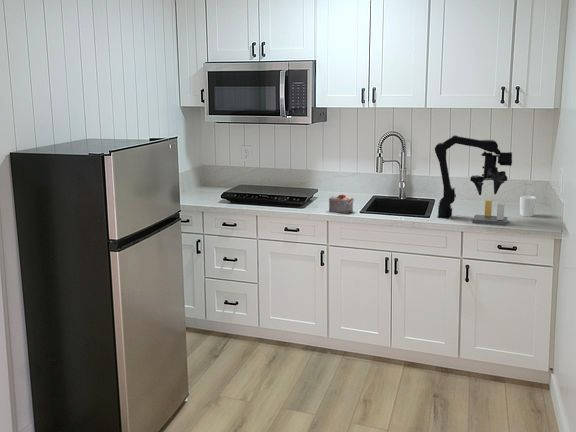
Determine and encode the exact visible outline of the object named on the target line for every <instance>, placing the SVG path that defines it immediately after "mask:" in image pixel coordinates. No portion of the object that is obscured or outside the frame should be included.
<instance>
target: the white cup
mask: <svg viewBox="0 0 576 432" xmlns="http://www.w3.org/2000/svg"><path fill="white" fill-rule="evenodd" d="M536 200H537V197H536V196H532V195H521V196H520V197H519V216H521V217H527V218H528V217H529V218H531V217H534V214H535V208H536Z"/></svg>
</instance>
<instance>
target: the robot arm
mask: <svg viewBox="0 0 576 432" xmlns="http://www.w3.org/2000/svg"><path fill="white" fill-rule="evenodd" d="M455 145H461V146H462V145H463V146H468V147H474V148H478V149H481V150H483V151H484V152H482V153H481V156H482V157H484V164H483V166H482V169H483V173H482V174H481V175H471V176H470V179H469V180H470V182H472V183H473V184H474V186H475V187H476V190H477V193H478V195H479V196H481V195H482V188H483V185H484V181H493V195H497V194H498V191H499V189H500V187H501V185H502V184H504V183H505V182H508V176H507V175H506V171H505V170H503V171H502V170H501V171H499V170H498V166H497V164H499V166H505V167H506V166H508V167H509V166H510V167H511V166H512V165H513V152H511V151H509V152H503V151H501V150H500V149H499V148H498V147H499V146H498V145H499V144H498V143H497V140H495V139H494V140H493V139H475V138H469V137H464V136H459V135H457V134H456V135H455V134H454V135H452V136H451V137H450V138H448V139H447V140H445V141H443V142H438V143H437V144H436V145H435V147H434V153H435V154H436V158H437V160H438V162H439V168H440V173H441V175H440V176H441V179H442V184H443V185H442V187H443V196H442V198H440V200H439V203H438V206H437V207H438V209H437V210H438V211H437V216H436V217H437V218H438V219H439V218H441V219H442V218H443V219H451V218H452V217H453V208H452V205H451V204H453V203H454V202H455V199H456V196H457V194H456V188H455V187H452V185H451V179H450V174H449V167H448V161H447V150H448V149H450V148H451V147H453V146H455ZM493 153H494V154H493Z"/></svg>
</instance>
